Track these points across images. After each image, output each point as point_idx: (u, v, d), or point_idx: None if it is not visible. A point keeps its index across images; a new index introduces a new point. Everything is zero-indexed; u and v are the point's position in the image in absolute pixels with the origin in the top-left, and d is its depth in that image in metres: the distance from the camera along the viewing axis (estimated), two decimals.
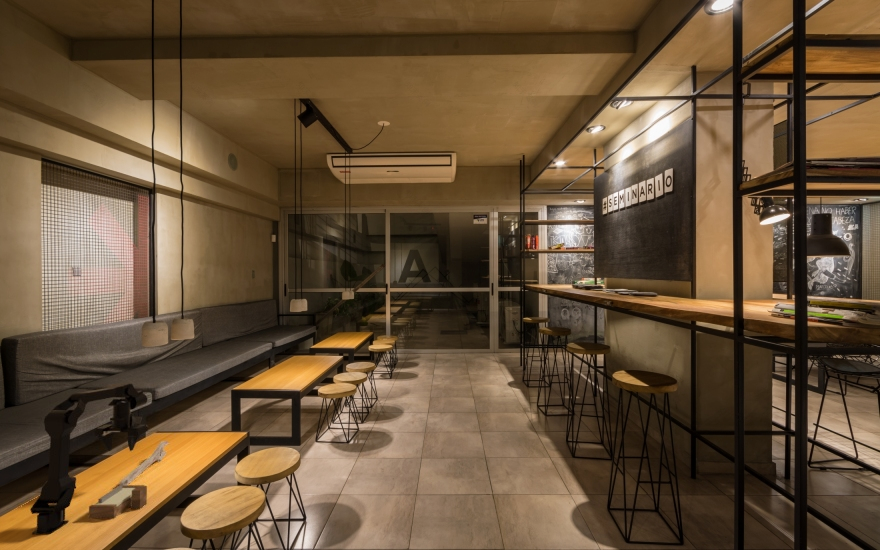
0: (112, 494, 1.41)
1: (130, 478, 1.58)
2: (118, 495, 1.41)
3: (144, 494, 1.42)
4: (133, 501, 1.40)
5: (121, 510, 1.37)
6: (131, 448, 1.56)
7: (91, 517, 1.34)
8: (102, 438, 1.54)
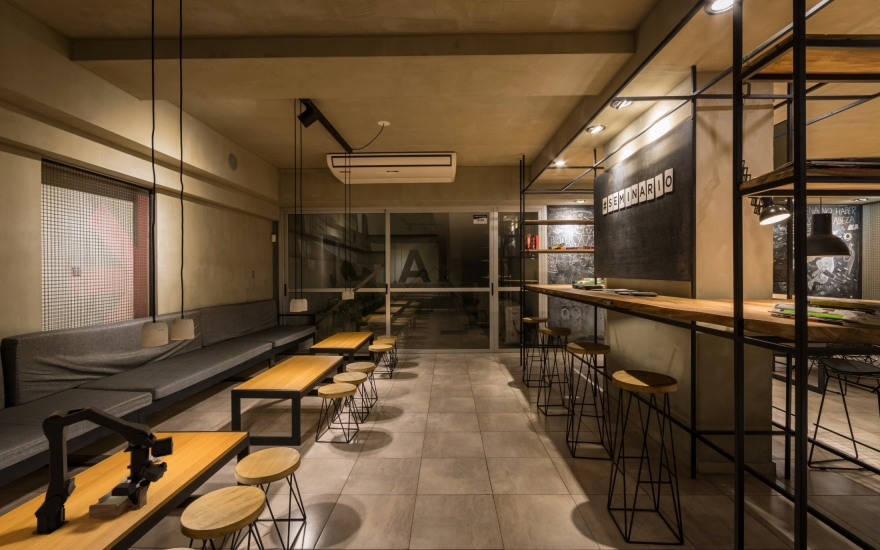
0: None
1: None
2: None
3: (144, 494, 1.42)
4: None
5: (121, 510, 1.37)
6: (133, 502, 1.39)
7: (91, 517, 1.34)
8: None
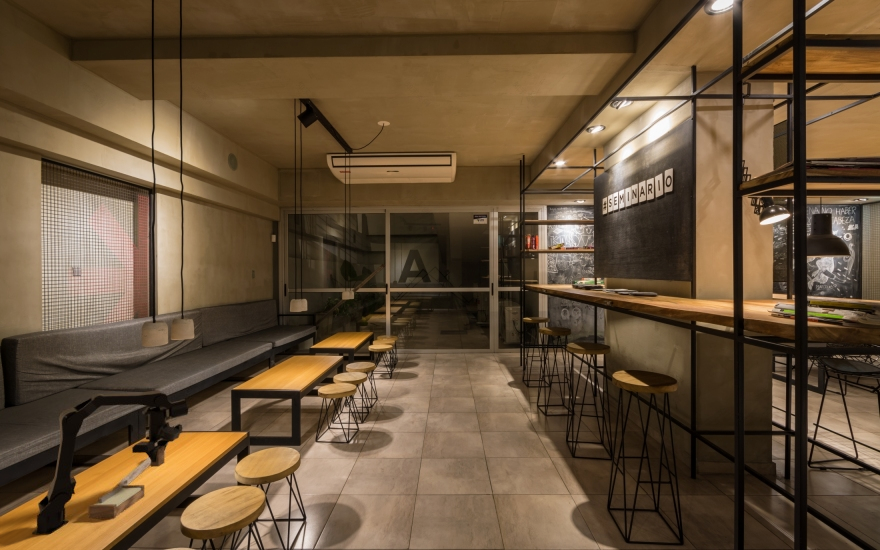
0: (112, 494, 1.41)
1: (130, 478, 1.58)
2: (118, 495, 1.41)
3: (162, 453, 1.53)
4: None
5: (121, 510, 1.37)
6: (152, 460, 1.50)
7: (91, 517, 1.34)
8: None
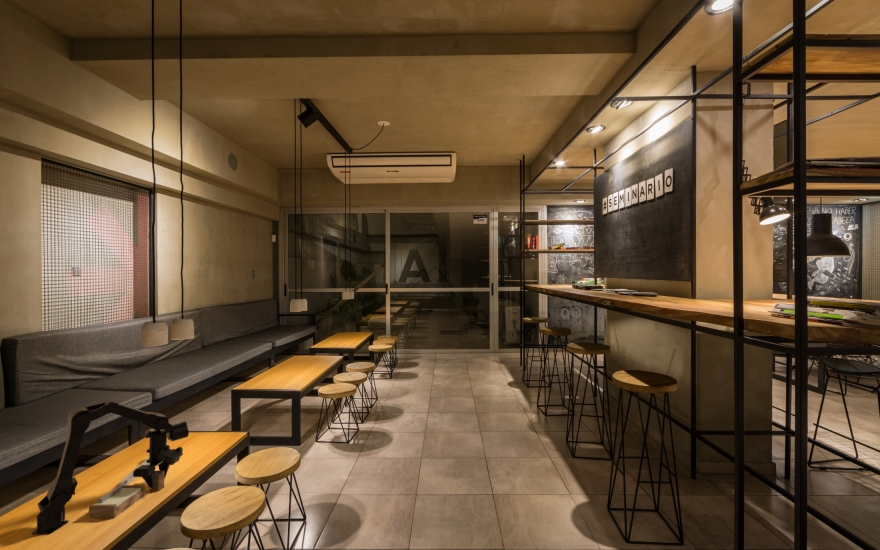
0: (112, 494, 1.41)
1: (129, 478, 1.58)
2: (118, 495, 1.41)
3: (162, 478, 1.54)
4: None
5: (121, 510, 1.37)
6: (149, 485, 1.49)
7: (91, 517, 1.34)
8: None
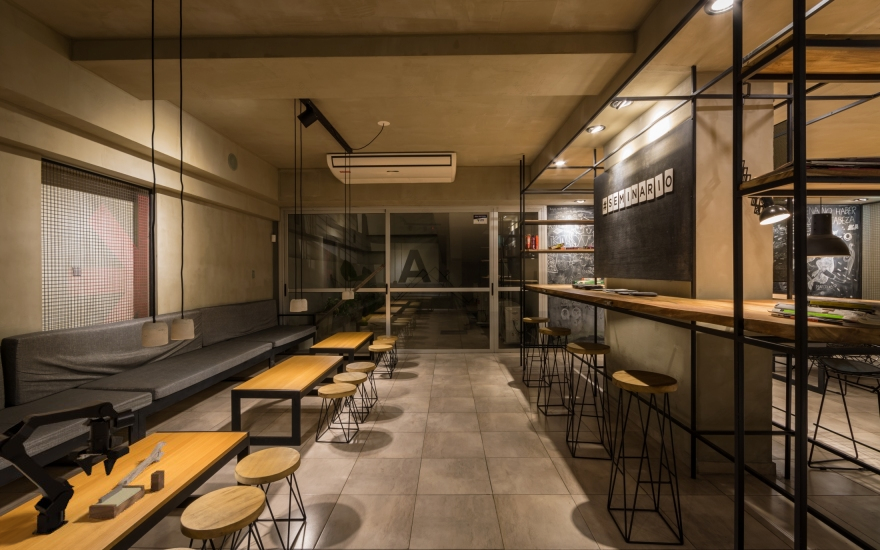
0: (112, 494, 1.41)
1: (129, 478, 1.58)
2: (118, 495, 1.41)
3: (162, 478, 1.54)
4: (152, 484, 1.51)
5: (121, 510, 1.37)
6: (108, 473, 1.41)
7: (91, 517, 1.34)
8: (80, 462, 1.39)
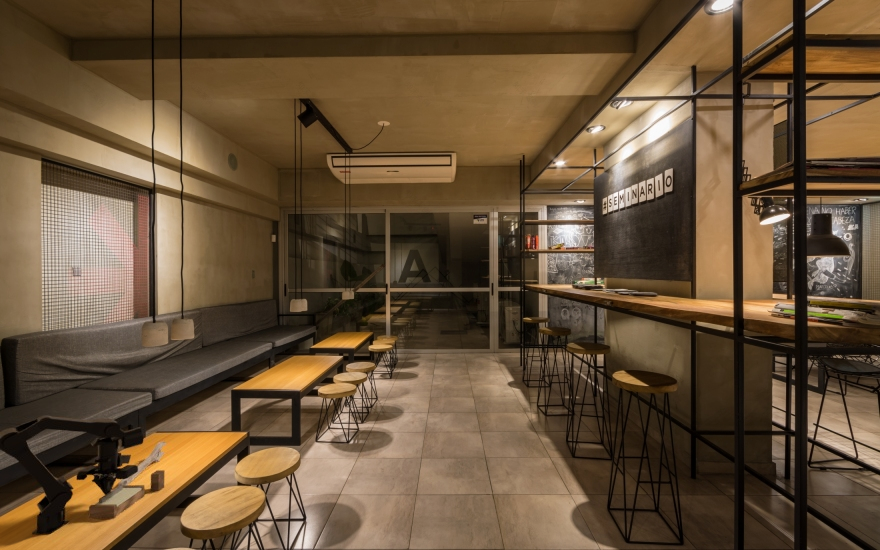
0: (112, 494, 1.41)
1: (129, 479, 1.58)
2: (118, 495, 1.41)
3: (162, 478, 1.54)
4: (152, 484, 1.51)
5: (121, 510, 1.37)
6: (107, 492, 1.41)
7: (91, 517, 1.34)
8: (98, 482, 1.38)
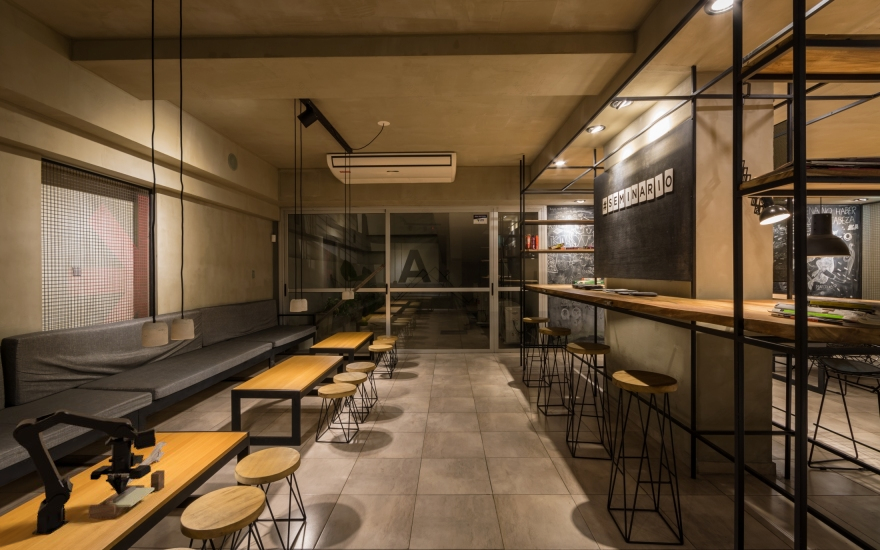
0: (126, 494, 1.41)
1: (129, 479, 1.58)
2: (132, 495, 1.41)
3: (162, 478, 1.54)
4: (152, 484, 1.51)
5: (121, 510, 1.37)
6: (121, 492, 1.41)
7: (91, 517, 1.34)
8: (112, 482, 1.38)
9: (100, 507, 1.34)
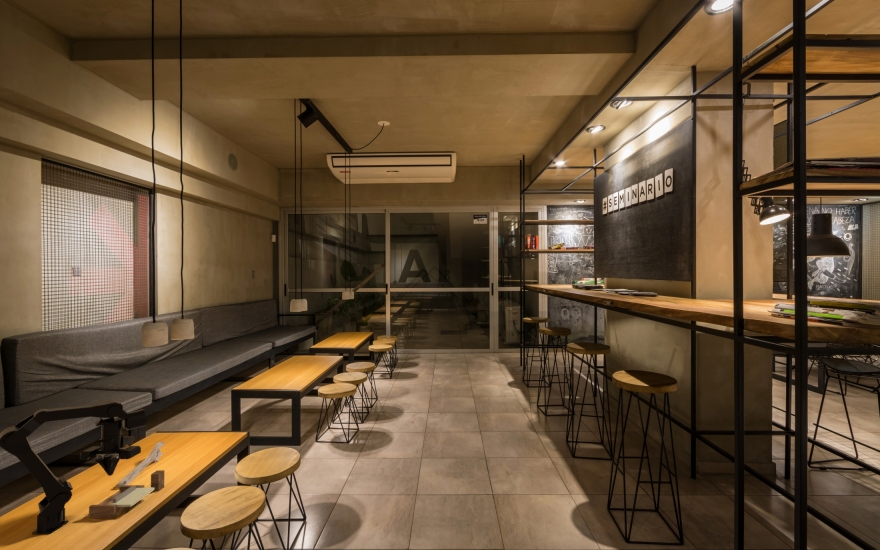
0: (126, 494, 1.41)
1: (128, 479, 1.58)
2: (132, 495, 1.41)
3: (162, 478, 1.54)
4: (152, 484, 1.51)
5: (121, 510, 1.37)
6: (111, 473, 1.41)
7: (91, 517, 1.34)
8: (101, 462, 1.39)
9: (100, 507, 1.34)
